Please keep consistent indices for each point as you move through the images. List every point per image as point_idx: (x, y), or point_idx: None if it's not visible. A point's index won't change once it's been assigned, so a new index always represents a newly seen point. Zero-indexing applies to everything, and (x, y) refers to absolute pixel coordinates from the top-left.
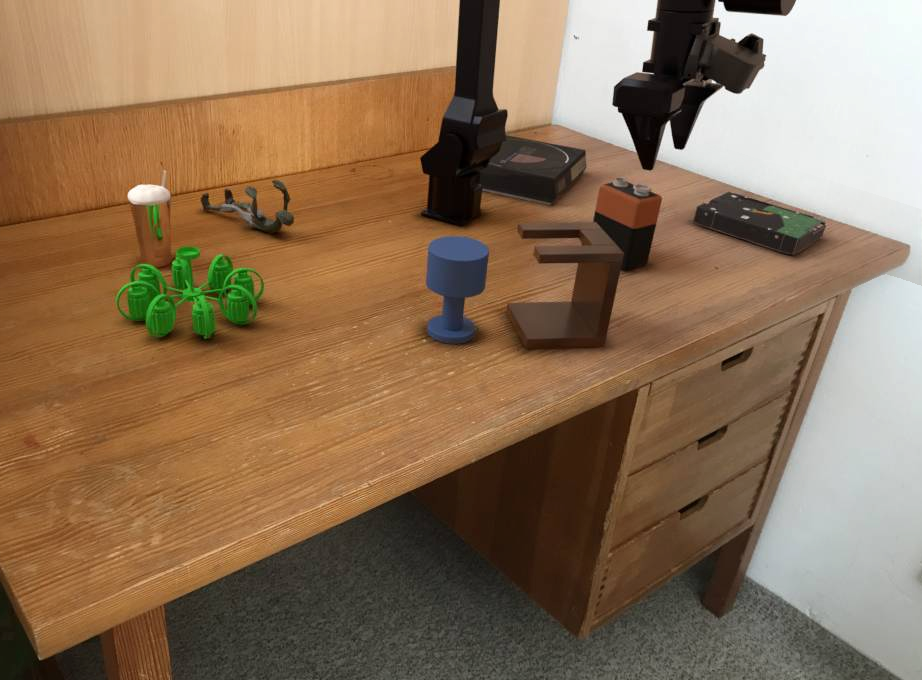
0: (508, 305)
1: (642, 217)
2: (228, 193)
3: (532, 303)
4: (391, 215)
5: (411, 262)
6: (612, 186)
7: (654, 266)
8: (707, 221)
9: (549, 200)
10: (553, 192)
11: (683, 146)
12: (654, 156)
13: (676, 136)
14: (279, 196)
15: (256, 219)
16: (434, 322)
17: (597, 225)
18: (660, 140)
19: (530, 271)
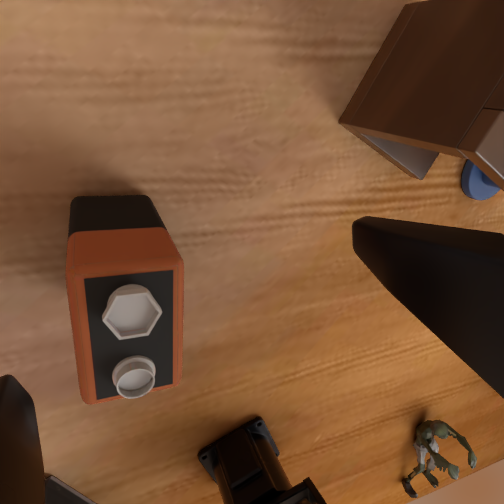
0: (425, 174)
1: (149, 239)
2: (413, 491)
3: (403, 160)
4: (303, 453)
5: (381, 336)
6: (166, 366)
7: (56, 185)
8: None
9: (53, 484)
10: (48, 499)
11: (7, 384)
12: (427, 224)
13: (29, 453)
14: (357, 500)
15: (454, 430)
16: (495, 188)
17: (491, 133)
18: (492, 247)
19: (289, 265)
